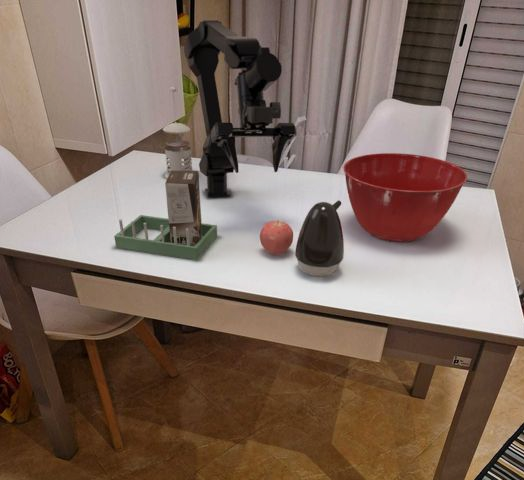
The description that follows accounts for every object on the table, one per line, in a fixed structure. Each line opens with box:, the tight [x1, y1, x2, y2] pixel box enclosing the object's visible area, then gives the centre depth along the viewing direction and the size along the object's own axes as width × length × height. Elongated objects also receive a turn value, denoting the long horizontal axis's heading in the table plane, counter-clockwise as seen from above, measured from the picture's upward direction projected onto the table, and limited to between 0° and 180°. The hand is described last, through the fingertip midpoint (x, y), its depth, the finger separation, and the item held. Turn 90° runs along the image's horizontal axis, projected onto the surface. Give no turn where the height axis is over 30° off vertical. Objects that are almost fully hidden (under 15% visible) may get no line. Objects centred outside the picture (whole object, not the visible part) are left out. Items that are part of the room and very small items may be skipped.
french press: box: [162, 86, 193, 179], centre depth 150 cm, size 10×12×25 cm
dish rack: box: [113, 214, 218, 261], centre depth 116 cm, size 13×20×7 cm, turn 74°
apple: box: [259, 220, 294, 256], centre depth 112 cm, size 7×7×8 cm
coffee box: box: [165, 170, 203, 246], centre depth 112 cm, size 9×6×16 cm
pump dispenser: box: [294, 200, 345, 277], centre depth 103 cm, size 10×10×15 cm
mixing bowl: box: [343, 152, 468, 243], centre depth 121 cm, size 28×28×15 cm
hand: (256, 172), depth 113 cm, fingers open, 9 cm apart
